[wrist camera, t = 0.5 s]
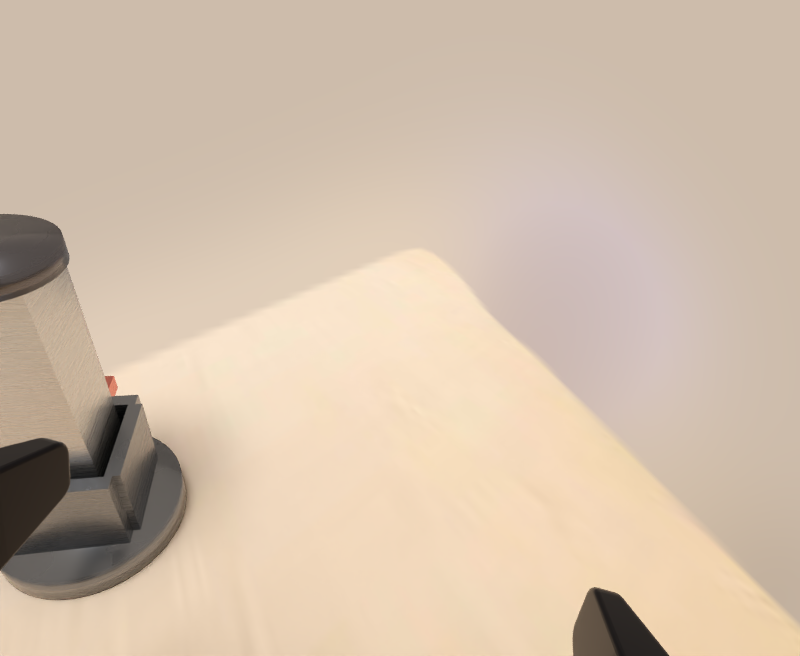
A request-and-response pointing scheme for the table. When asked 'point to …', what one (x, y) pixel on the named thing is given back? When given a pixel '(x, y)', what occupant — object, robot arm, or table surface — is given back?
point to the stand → (106, 517)
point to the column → (49, 351)
